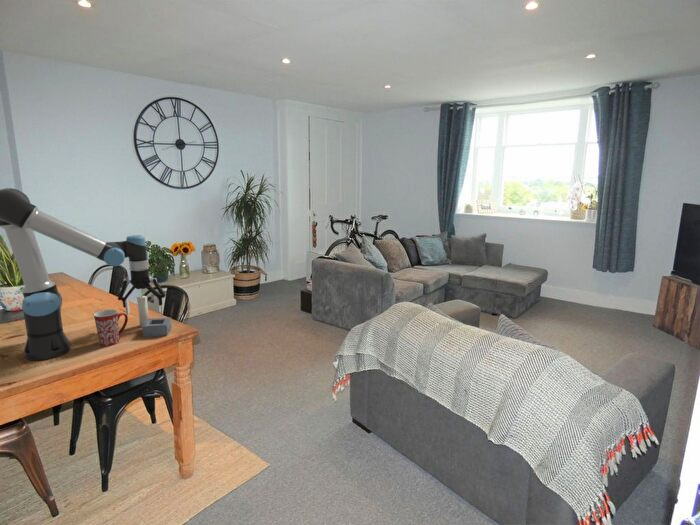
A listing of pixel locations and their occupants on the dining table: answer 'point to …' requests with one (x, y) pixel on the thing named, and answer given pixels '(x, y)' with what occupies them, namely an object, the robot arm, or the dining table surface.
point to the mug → (108, 326)
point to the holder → (157, 327)
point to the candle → (142, 309)
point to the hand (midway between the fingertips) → (144, 312)
